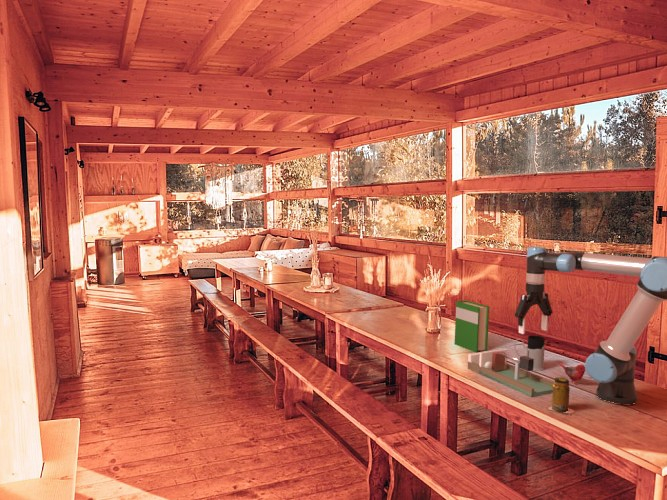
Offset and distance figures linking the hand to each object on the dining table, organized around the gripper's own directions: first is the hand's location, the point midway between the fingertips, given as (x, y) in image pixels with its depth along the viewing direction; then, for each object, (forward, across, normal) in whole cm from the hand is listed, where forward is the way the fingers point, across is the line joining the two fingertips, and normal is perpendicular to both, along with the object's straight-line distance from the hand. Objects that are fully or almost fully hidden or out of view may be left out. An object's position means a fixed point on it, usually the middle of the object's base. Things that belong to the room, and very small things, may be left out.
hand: (533, 331), depth 238 cm
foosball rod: (+22, +2, -9) cm, 23 cm away
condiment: (+24, +10, +25) cm, 37 cm away
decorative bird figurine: (+24, -20, +4) cm, 32 cm away
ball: (+21, +2, -24) cm, 32 cm away
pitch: (+24, +2, -10) cm, 26 cm away
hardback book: (+23, -17, -58) cm, 65 cm away
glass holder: (+24, -19, -19) cm, 36 cm away
